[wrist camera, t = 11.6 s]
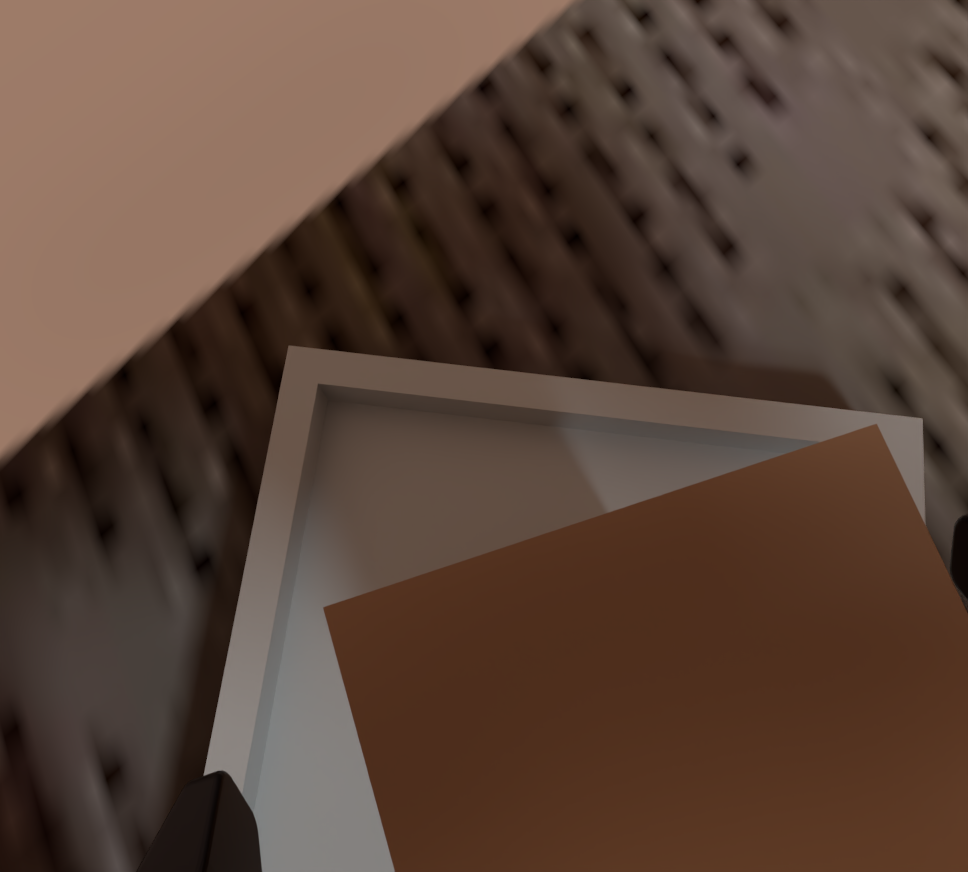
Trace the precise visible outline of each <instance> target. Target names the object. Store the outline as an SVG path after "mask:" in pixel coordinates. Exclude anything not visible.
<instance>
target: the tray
mask: <svg viewBox="0 0 968 872" xmlns="http://www.w3.org/2000/svg"><path fill="white" fill-rule="evenodd" d="M874 424H877V425H878V427H879V429H880V431H881V433H882V435H883V438H884V440H885V442H886V444H887V446H888V448H889V450H890V452H891V454H892V456H893V458H894V461H895V463H896V465H897V467H898V469H899V471H900V473H901V475H902V477H903V479H904V481H905V484H906V486H907V488H908V490H909V492H910V494H911V496H912V498H913V500H914V502H915V504H916V506H917V509H918V511H919V513H920V515H921V517H922V519H923V521H924V523H925V491H924V455H923V419H922V418H914V417H905V416H897V415H888V414H879V413H871V412H862V411H853V410H845V409H836V408H827V407H819V406H810V405H801V404H793V403H784V402H775V401H767V400H758V399H749V398H741V397H732V396H723V395H715V394H706V393H697V392H688V391H680V390H671V389H662V388H654V387H645V386H636V385H628V384H619V383H610V382H602V381H593V380H584V379H576V378H567V377H558V376H550V375H541V374H532V373H524V372H515V371H506V370H498V369H489V368H480V367H472V366H463V365H454V364H446V363H437V362H428V361H420V360H411V359H402V358H394V357H385V356H376V355H368V354H359V353H350V352H342V351H333V350H324V349H316V348H307V347H298V346H290V345H289V346H288V351H287V356H286V361H285V366H284V371H283V376H282V381H281V386H280V391H279V396H278V401H277V407H276V412H275V417H274V422H273V427H272V432H271V437H270V442H269V447H268V452H267V457H266V462H265V467H264V472H263V477H262V482H261V487H260V493H259V498H258V503H257V508H256V513H255V518H254V523H253V528H252V533H251V538H250V543H249V548H248V553H247V558H246V563H245V568H244V573H243V579H242V584H241V589H240V594H239V599H238V604H237V609H236V614H235V619H234V624H233V629H232V634H231V639H230V644H229V649H228V654H227V659H226V665H225V670H224V675H223V680H222V685H221V690H220V695H219V700H218V705H217V710H216V715H215V720H214V725H213V730H212V735H211V740H210V746H209V751H208V756H207V761H206V766H205V771H204V775H207V774H210V773H213V772H216V771H221V770H223V771H226V772H227V773H228V774H229V775H230V776H231V777H232V779H233V781H234V782H235V784H236V785H237V787H238V789H239V790H240V792H241V794H242V795H243V797H244V798H245V800H246V802H247V803H248V805H249V807H250V808H251V810H252V812H253V814H254V816H255V819H256V823H257V827H258V834H259V844H260V854H261V864H262V872H395V870H394V867H393V863H392V859H391V856H390V852H389V848H388V845H387V841H386V837H385V834H384V830H383V826H382V823H381V819H380V815H379V812H378V808H377V804H376V801H375V797H374V793H373V790H372V786H371V782H370V779H369V775H368V771H367V768H366V764H365V760H364V756H363V753H362V749H361V745H360V742H359V738H358V734H357V731H356V727H355V723H354V720H353V716H352V712H351V709H350V705H349V701H348V698H347V694H346V690H345V687H344V683H343V679H342V676H341V672H340V668H339V665H338V661H337V657H336V654H335V650H334V646H333V643H332V639H331V635H330V632H329V628H328V624H327V621H326V617H325V613H324V610H323V607H326V606H329V605H332V604H335V603H338V602H341V601H344V600H347V599H350V598H353V597H356V596H359V595H362V594H365V593H368V592H371V591H374V590H377V589H380V588H383V587H386V586H389V585H392V584H395V583H398V582H401V581H404V580H407V579H410V578H413V577H416V576H419V575H422V574H425V573H428V572H431V571H434V570H437V569H440V568H443V567H446V566H449V565H452V564H455V563H458V562H461V561H464V560H467V559H470V558H473V557H476V556H479V555H482V554H485V553H488V552H491V551H494V550H497V549H500V548H503V547H506V546H509V545H512V544H515V543H518V542H521V541H524V540H527V539H530V538H533V537H536V536H539V535H542V534H545V533H548V532H551V531H554V530H557V529H560V528H563V527H566V526H569V525H572V524H575V523H578V522H582V521H585V520H588V519H591V518H594V517H597V516H600V515H603V514H606V513H609V512H612V511H615V510H618V509H621V508H624V507H627V506H630V505H633V504H636V503H639V502H642V501H645V500H648V499H651V498H654V497H657V496H660V495H663V494H666V493H669V492H672V491H675V490H678V489H681V488H684V487H687V486H690V485H693V484H696V483H699V482H702V481H705V480H708V479H711V478H714V477H717V476H720V475H723V474H726V473H729V472H732V471H735V470H738V469H741V468H744V467H747V466H750V465H753V464H756V463H759V462H762V461H765V460H768V459H771V458H774V457H777V456H780V455H783V454H786V453H789V452H792V451H795V450H798V449H801V448H804V447H807V446H810V445H813V444H816V443H819V442H822V441H825V440H828V439H831V438H834V437H838V436H841V435H844V434H847V433H850V432H853V431H856V430H859V429H862V428H865V427H868V426H871V425H874Z"/></svg>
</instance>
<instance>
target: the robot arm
mask: <svg viewBox="0 0 968 872" xmlns="http://www.w3.org/2000/svg"><path fill="white" fill-rule="evenodd" d="M950 572H951V576H952V579H953V581H954V583H955V585H956V586H957V588H958V589H959V590H960V592H961V593H962V594H963V595H964V597H965V598H966V599H967V601H968V514H966V515H963V516H961V517H960V518H958V520H957V521H956V523H955V526H954V532H953V541H952V550H951V559H950ZM136 872H262V864H261V854H260V844H259V834H258V827H257V823H256V819H255V816H254V814H253V812H252V810H251V808H250V807H249V805H248V803H247V802H246V800H245V798H244V797H243V795H242V794H241V792H240V790H239V789H238V787H237V785H236V784H235V782H234V781H233V779H232V777H231V776H230V775H229V774H228V773H227V772H226V771H223V770H221V771H216V772H213V773H210V774H207V775H204V776H201V777H198V778H195V779H193V780H191V781H190V782H188V783H187V784H186V785H185V787H184V788H183V790H182V791H181V793H180V795H179V797H178V798H177V800H176V802H175V804H174V805H173V807H172V809H171V811H170V813H169V814H168V816H167V818H166V820H165V821H164V823H163V825H162V827H161V829H160V830H159V832H158V834H157V836H156V837H155V839H154V841H153V843H152V845H151V846H150V848H149V850H148V852H147V853H146V855H145V857H144V859H143V861H142V862H141V864H140V866H139V868H138V869H137V871H136Z"/></svg>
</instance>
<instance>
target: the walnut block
mask: <svg viewBox="0 0 968 872" xmlns="http://www.w3.org/2000/svg"><path fill="white" fill-rule="evenodd" d="M323 610H324V613H325V617H326V621H327V624H328V628H329V632H330V635H331V639H332V643H333V646H334V650H335V654H336V657H337V661H338V665H339V668H340V672H341V676H342V679H343V683H344V687H345V690H346V694H347V698H348V701H349V705H350V709H351V712H352V716H353V720H354V723H355V727H356V731H357V734H358V738H359V742H360V745H361V749H362V753H363V756H364V760H365V764H366V768H367V771H368V775H369V779H370V782H371V786H372V790H373V793H374V797H375V801H376V804H377V808H378V812H379V815H380V819H381V823H382V826H383V830H384V834H385V837H386V841H387V845H388V848H389V852H390V856H391V859H392V863H393V867H394V870H395V872H968V613H967V611H966V609H965V607H964V605H963V603H962V600H961V598H960V596H959V594H958V592H957V590H956V588H955V586H954V584H953V582H952V580H951V577H950V575H949V573H948V571H947V569H946V567H945V565H944V563H943V561H942V559H941V557H940V554H939V552H938V550H937V548H936V546H935V544H934V542H933V540H932V538H931V536H930V534H929V532H928V529H927V527H926V525H925V523H924V521H923V519H922V517H921V515H920V513H919V511H918V509H917V506H916V504H915V502H914V500H913V498H912V496H911V494H910V492H909V490H908V488H907V486H906V484H905V481H904V479H903V477H902V475H901V473H900V471H899V469H898V467H897V465H896V463H895V461H894V458H893V456H892V454H891V452H890V450H889V448H888V446H887V444H886V442H885V440H884V438H883V435H882V433H881V431H880V429H879V427H878V425H877V424H874V425H871V426H868V427H865V428H862V429H859V430H856V431H853V432H850V433H847V434H844V435H841V436H838V437H834V438H831V439H828V440H825V441H822V442H819V443H816V444H813V445H810V446H807V447H804V448H801V449H798V450H795V451H792V452H789V453H786V454H783V455H780V456H777V457H774V458H771V459H768V460H765V461H762V462H759V463H756V464H753V465H750V466H747V467H744V468H741V469H738V470H735V471H732V472H729V473H726V474H723V475H720V476H717V477H714V478H711V479H708V480H705V481H702V482H699V483H696V484H693V485H690V486H687V487H684V488H681V489H678V490H675V491H672V492H669V493H666V494H663V495H660V496H657V497H654V498H651V499H648V500H645V501H642V502H639V503H636V504H633V505H630V506H627V507H624V508H621V509H618V510H615V511H612V512H609V513H606V514H603V515H600V516H597V517H594V518H591V519H588V520H585V521H582V522H578V523H575V524H572V525H569V526H566V527H563V528H560V529H557V530H554V531H551V532H548V533H545V534H542V535H539V536H536V537H533V538H530V539H527V540H524V541H521V542H518V543H515V544H512V545H509V546H506V547H503V548H500V549H497V550H494V551H491V552H488V553H485V554H482V555H479V556H476V557H473V558H470V559H467V560H464V561H461V562H458V563H455V564H452V565H449V566H446V567H443V568H440V569H437V570H434V571H431V572H428V573H425V574H422V575H419V576H416V577H413V578H410V579H407V580H404V581H401V582H398V583H395V584H392V585H389V586H386V587H383V588H380V589H377V590H374V591H371V592H368V593H365V594H362V595H359V596H356V597H353V598H350V599H347V600H344V601H341V602H338V603H335V604H332V605H329V606H326V607H323Z"/></svg>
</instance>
